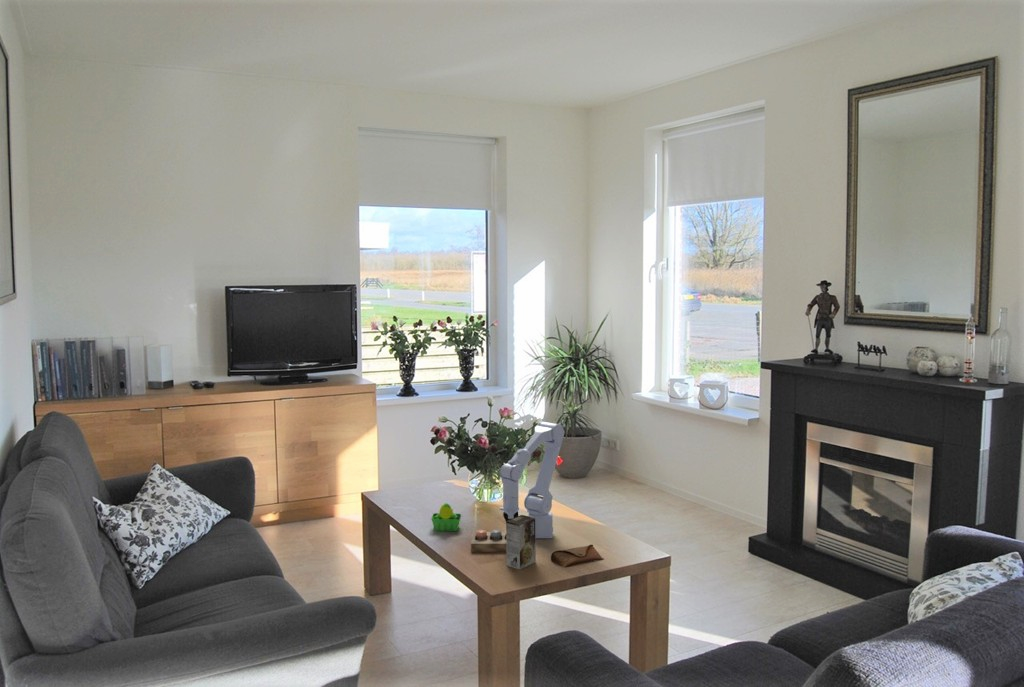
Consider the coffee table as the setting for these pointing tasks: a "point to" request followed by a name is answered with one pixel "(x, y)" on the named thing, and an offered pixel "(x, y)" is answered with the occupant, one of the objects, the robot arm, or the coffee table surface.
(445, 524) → the fruit basket
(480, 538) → the pink ball
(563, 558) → the sunglasses case
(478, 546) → the wooden tray
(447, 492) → the coffee table surface
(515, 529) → the coffee box
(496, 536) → the blue-grey ball
